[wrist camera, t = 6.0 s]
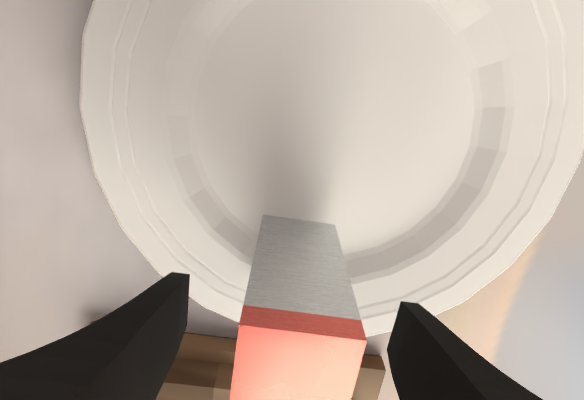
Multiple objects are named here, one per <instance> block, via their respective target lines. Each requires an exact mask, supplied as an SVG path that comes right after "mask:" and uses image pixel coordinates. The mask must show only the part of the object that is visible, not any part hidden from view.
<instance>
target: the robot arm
mask: <svg viewBox="0 0 584 400" xmlns="http://www.w3.org/2000/svg"><path fill="white" fill-rule="evenodd" d="M189 281H190V274H184V273H176V272H171V273H169V274H168V275H166V276H165V277H163V278H162V279H161V280H159V281H158V282H156V283H155V284H154V285H152V286H151V287H149V288H148V289H147V290H145V291H144V292H142V293H141V294H139V295H138V296H136V297H135V298H133V299H132V300H130V301H129V302H128V303H126V304H124V305H123V306H121V307H119V308H118V309H116V310H114V311H113V312H111V313H110V314H108V315H106V316H105V317H103V318H101V319H99V320H98V321H96V322H94V323H92V324H90V325H88V326H86V327H84V328H82V329H80V330H78V331H76V332H74V333H72V334H70V335H68V336H66V337H64V338H62V339H59V340H57V341H55V342H52V343H50V344H47V345H45V346H43V347H40V348H38V349H36V350H33V351H31V352H28V353H26V354H23V355H20V356H18V357H15V358H12V359H10V360H7V361H4V362H1V363H0V400H155V399H156V397H157V395H158V393H159V391H160V389H161V387H162V385H163V383H164V381H165V379H166V376H167V374H168V372H169V370H170V368H171V366H172V364H173V362H174V359H175V357H176V355H177V353H178V350H179V347H180V344H181V341H182V338H183V335H184V332H185V329H186V326H187V314H188V298H189ZM387 352H388V358H389V363H390V368H391V373H392V377H393V381H394V384H395V387H396V390H397V393H398V396H399V399H400V400H543V399H541V398H539V397H538V396H536V395H535V394H533V393H532V392H530V391H529V390H527V389H526V388H524V387H523V386H521V385H520V384H518V383H517V382H515V381H514V380H512V379H511V378H510V377H508V376H507V375H505V374H504V373H502V372H501V371H500V370H498V369H497V368H496V367H495V366H493V365H492V364H491V363H489V362H488V361H487V360H486V359H484V358H483V357H482V356H480V355H479V354H478V353H477V352H475V351H474V350H473V349H472V348H471V347H469V346H468V345H467V344H466V343H465V342H463V341H462V340H461V339H460V338H459V337H458V336H456V335H455V334H454V333H453V332H452V331H451V330H449V329H448V328H447V327H446V326H445V325H444V324H443V323H441V322H440V321H439V320H438V319H437V318H436V317H435V316H433V315H432V314H431V313H430V312H429V311H427V310H426V309H425V308H424V307H422V306H421V305H420V304H418V303H412V302H404V301H401V302H400V306H399V309H398V312H397V316H396V319H395V323H394V326H393V330H392V333H391V337H390V340H389V344H388V347H387Z"/></svg>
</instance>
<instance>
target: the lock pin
mask: <svg viewBox="0 0 584 400" xmlns="http://www.w3.org/2000/svg"><path fill="white" fill-rule="evenodd" d="M366 343H367V339H366V336H365V332H364V328H363V325H362V321H361V318H360V314H359V310H358V307H357V303H356V299H355V296H354V292H353V288H352V285H351V281H350V278H349V274H348V270H347V267H346V263H345V259H344V256H343V252H342V249H341V245H340V241H339V238H338V234H337V230H336V227H335V225H334V224H327V223H320V222H313V221H306V220H299V219H292V218H285V217H278V216H271V215H263V217H262V222H261V226H260V231H259V235H258V240H257V244H256V249H255V253H254V258H253V262H252V267H251V272H250V276H249V281H248V285H247V290H246V294H245V299H244V303H243V308H242V313H241V317H240V322H239V327H238V336H237V344H236V352H235V360H234V368H233V376H232V384H231V392H230V400H351V398H352V394H353V391H354V387H355V383H356V379H357V376H358V372H359V368H360V365H361V361H362V357H363V354H364V350H365V346H366Z"/></svg>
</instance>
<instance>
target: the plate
mask: <svg viewBox="0 0 584 400" xmlns="http://www.w3.org/2000/svg"><path fill="white" fill-rule="evenodd" d="M79 108H80V113H81V118H82V122H83V127H84V132H85V136H86V141H87V146H88V150H89V155H90V160H91V164H92V169H93V173H94V175H95V177H96V179H97V181H98V183H99V185H100V187H101V189H102V191H103V193H104V195H105V197H106V199H107V201H108V203H109V205H110V207H111V209H112V211H113V213H114V215H115V218H116V220H117V222H118V224H119V226H120V228H121V229H122V230H123V231H124V233H125V234H126V235H127V236H128V237H129V239H130V240H131V241H132V242H133V243H134V245H135V246H136V247H137V248H138V249H139V251H140V252H141V253H142V254H143V255H144V257H145V258H146V259H147V260H148V261H149V263H150V264H151V265H152V266H153V267H154V269H155V270H156V271H157V272H158V273H159V274H160V275H161V276H163V277H165V276H166V275H168V274H169V273H171V272H176V273H184V274H190V281H189V297H191V298H192V299H193V300H195V301H196V302H197V303H199V304H200V305H201V306H203V307H204V308H207V309H209V310H211V311H213V312H216V313H218V314H220V315H223V316H225V317H227V318H229V319H232V320H234V321H236V322H238V323H239V322H240V317H241V313H242V308H243V303H244V299H245V294H246V290H247V285H248V281H249V276H250V272H251V267H252V262H253V258H254V253H255V249H256V244H257V240H258V235H259V231H260V226H261V222H262V217H263V215H271V216H278V217H285V218H292V219H299V220H306V221H313V222H320V223H327V224H334V225H335V227H336V230H337V234H338V238H339V241H340V245H341V249H342V252H343V256H344V259H345V263H346V267H347V270H348V274H349V278H350V281H351V285H352V288H353V292H354V296H355V299H356V303H357V307H358V310H359V314H360V318H361V321H362V325H363V328H364V332H365V336H366V337H368V336H373V335H377V334H381V333H385V332H390V331H392V330H393V326H394V323H395V319H396V316H397V312H398V309H399V306H400V302H401V301H404V302H412V303H418V304H420V305H421V306H422V307H424V308H425V309H426V310H427V311H429V312H430V313H431V314H432V315H433V316H435V315H437V314H439V313H442V312H444V311H446V310H448V309H450V308H452V307H454V306H456V305H458V304H461V303H463V302H464V301H466V300H467V299H468V298H470V297H471V296H472V295H474V294H475V293H476V292H478V291H479V290H480V289H481V288H483V287H484V286H485V285H487V284H488V283H489V282H491V281H492V280H493V279H494V278H496V277H497V276H498V275H500V274H501V273H502V272H504V271H505V270H506V269H508V268H509V267H510V266H511V265H512V264H513V263H514V262H515V260H516V259H517V258H518V257H519V256H520V255H521V253H522V252H523V251H524V250H525V249H526V247H527V246H528V245H529V244H530V243H531V241H532V240H533V239H534V238H535V237H536V236H537V234H538V233H539V232H540V231H541V230H542V228H543V227H544V226H545V225H546V224H547V223H548V221H549V220H550V219H551V217H552V215H553V213H554V211H555V210H556V207H557V206H558V204H559V202H560V200H561V198H562V196H563V194H564V192H565V190H566V188H567V186H568V184H569V182H570V180H571V179H572V177H573V175H574V173H575V171H576V169H577V167H578V165H579V163H580V161H581V158H582V154H583V150H584V0H93V2H92V5H91V8H90V11H89V15H88V18H87V21H86V24H85V27H84V30H83V33H82V52H81V74H80V96H79Z"/></svg>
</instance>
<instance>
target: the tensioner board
mask: <svg viewBox="0 0 584 400" xmlns="http://www.w3.org/2000/svg"><path fill="white" fill-rule="evenodd" d="M92 323H94V322H91V324H92ZM236 344H237V339H230V338H222V337H213V336H205V335H197V334H188V333H184V335H183V338H182V341H181V344H180V347H179V350H178V353H177V355H176V357H175V359H174V362H173V364H172V366H171V368H170V370H169V372H168V374H167V376H166V379H165V381H164V383H163V385H162V387H161V389H160V391H159V393H158V395H157V397H156V399H155V400H230V392H231V384H232V376H233V368H234V360H235V352H236ZM385 372H386V370H385V366H384V363H383V360H382V357H380V356H372V355H364V354H363V357H362V361H361V365H360V368H359V372H358V376H357V379H356V383H355V387H354V391H353V394H352V398H351V400H377V399H378V395H379V392H380V388H381V385H382V382H383V378H384V375H385Z"/></svg>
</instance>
